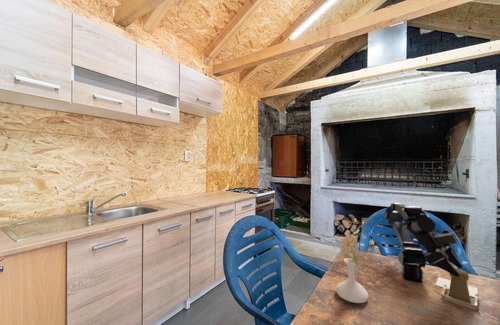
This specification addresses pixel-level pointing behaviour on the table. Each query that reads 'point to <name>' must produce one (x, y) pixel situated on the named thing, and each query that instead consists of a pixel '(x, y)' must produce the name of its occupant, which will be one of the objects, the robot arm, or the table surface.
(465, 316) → the table surface
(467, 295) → the cork
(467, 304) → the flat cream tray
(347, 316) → the table surface
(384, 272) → the table surface
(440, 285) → the white flat panel
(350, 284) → the flower in vase
